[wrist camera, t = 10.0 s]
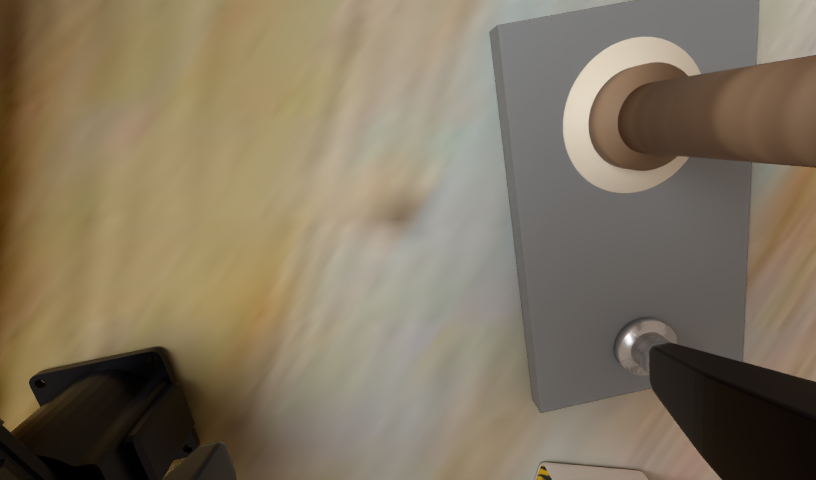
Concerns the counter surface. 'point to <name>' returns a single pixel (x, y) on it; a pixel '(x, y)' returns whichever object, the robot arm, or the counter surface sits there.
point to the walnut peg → (707, 115)
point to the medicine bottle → (584, 473)
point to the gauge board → (618, 195)
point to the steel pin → (640, 343)
